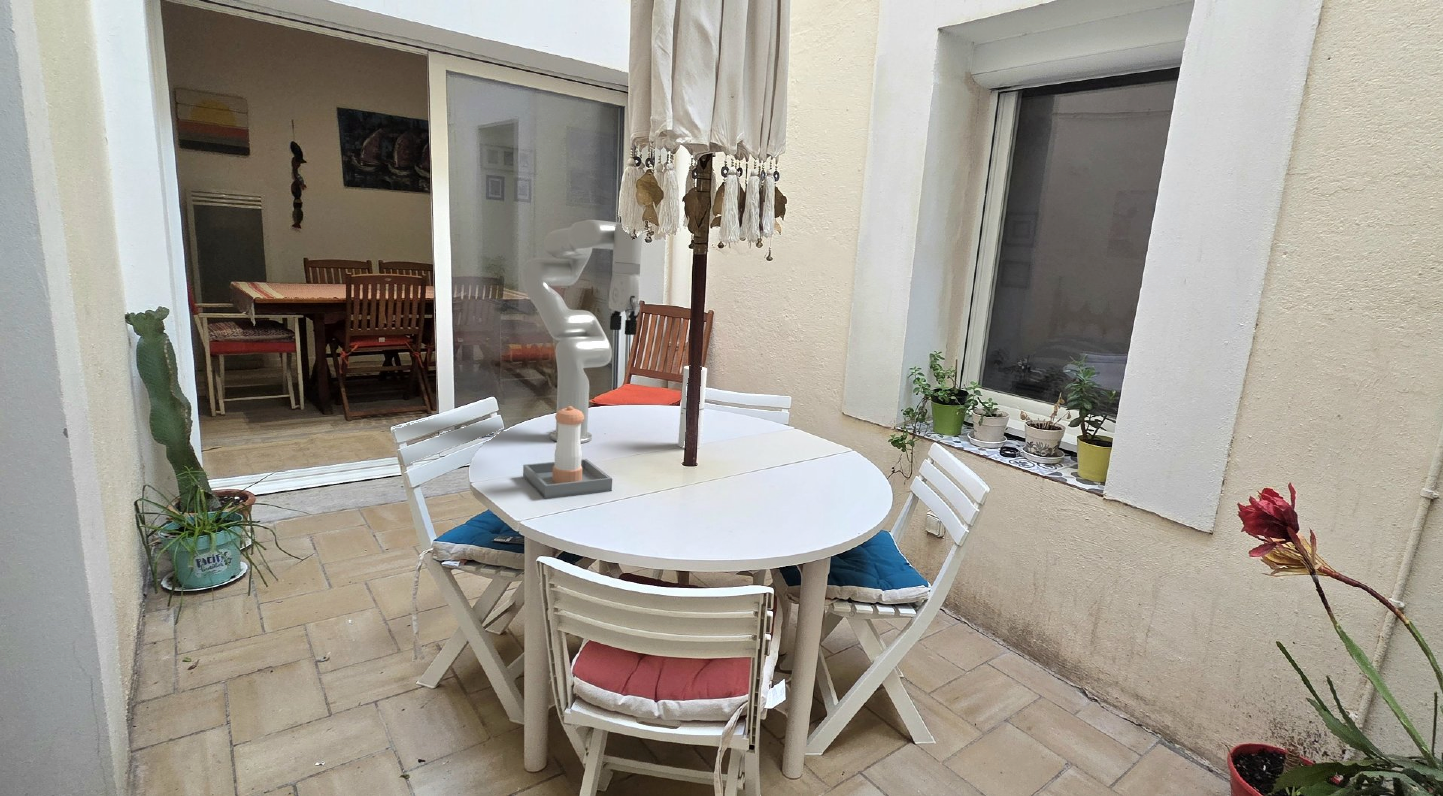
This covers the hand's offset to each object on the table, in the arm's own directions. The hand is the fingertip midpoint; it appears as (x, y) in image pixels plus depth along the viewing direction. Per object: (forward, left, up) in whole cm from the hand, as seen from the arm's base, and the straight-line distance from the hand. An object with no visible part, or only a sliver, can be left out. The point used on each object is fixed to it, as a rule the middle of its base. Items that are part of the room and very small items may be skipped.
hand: (622, 332), depth 194 cm
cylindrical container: (-4, +27, -36) cm, 46 cm away
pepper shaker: (+17, -21, -36) cm, 45 cm away
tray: (+17, -21, -36) cm, 45 cm away
